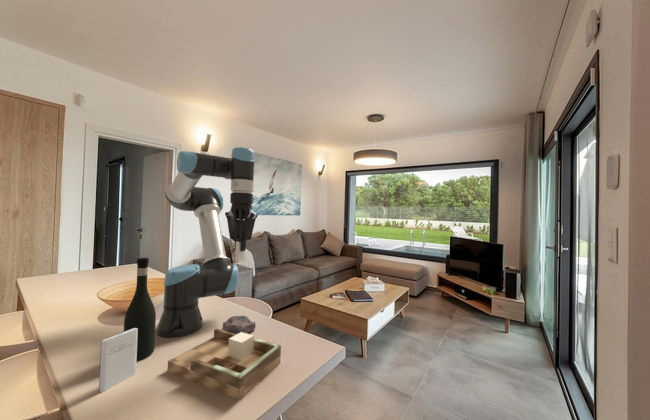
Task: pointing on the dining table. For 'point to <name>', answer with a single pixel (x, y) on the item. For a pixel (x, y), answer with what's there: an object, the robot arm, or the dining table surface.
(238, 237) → the robot arm
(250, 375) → the wooden tray
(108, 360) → the hard drive
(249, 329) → the rock
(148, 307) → the wine bottle
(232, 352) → the block
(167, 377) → the dining table surface
